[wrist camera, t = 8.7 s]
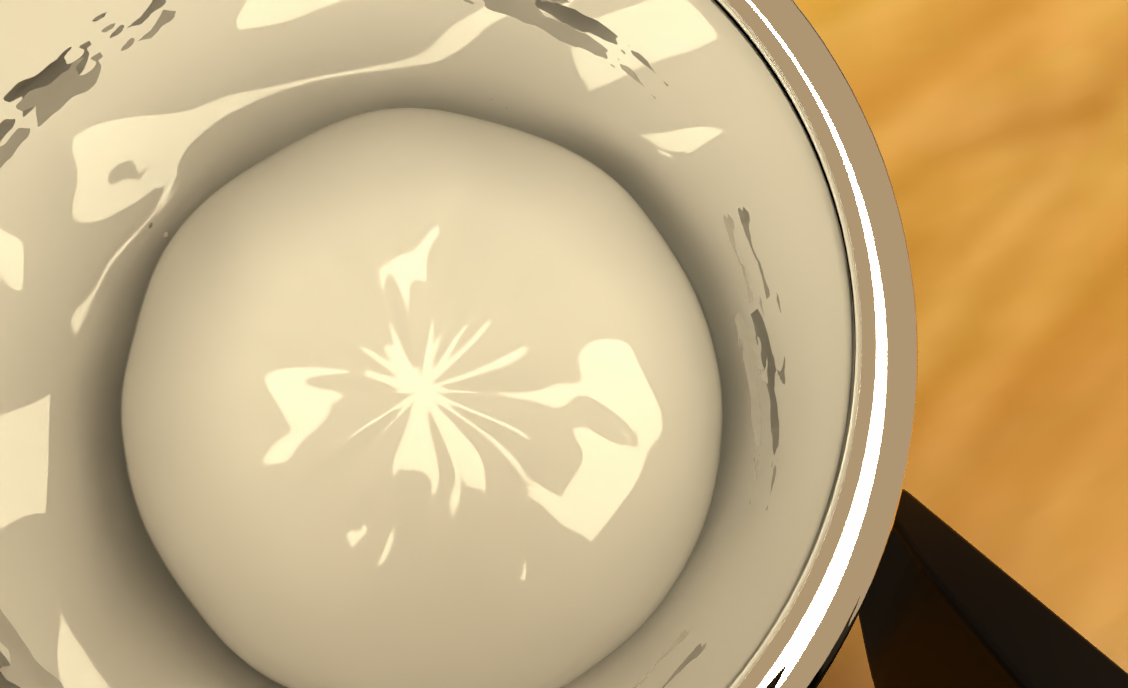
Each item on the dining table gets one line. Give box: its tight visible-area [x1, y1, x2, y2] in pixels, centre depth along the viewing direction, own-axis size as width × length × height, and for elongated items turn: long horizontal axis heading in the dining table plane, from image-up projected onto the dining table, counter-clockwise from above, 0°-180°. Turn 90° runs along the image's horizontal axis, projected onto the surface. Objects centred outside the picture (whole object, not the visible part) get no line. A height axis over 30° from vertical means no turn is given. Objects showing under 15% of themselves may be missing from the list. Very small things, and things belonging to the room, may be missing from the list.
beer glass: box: [0, 0, 918, 688], centre depth 12 cm, size 7×7×15 cm
